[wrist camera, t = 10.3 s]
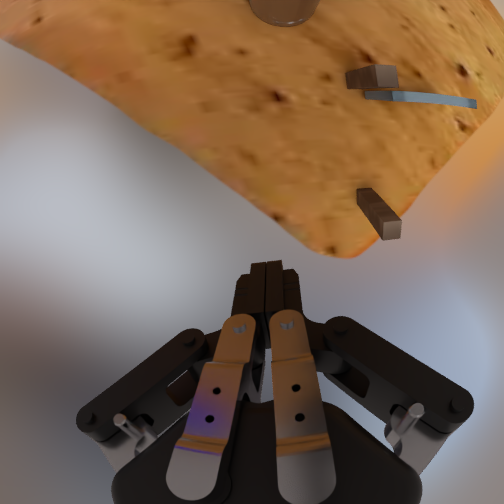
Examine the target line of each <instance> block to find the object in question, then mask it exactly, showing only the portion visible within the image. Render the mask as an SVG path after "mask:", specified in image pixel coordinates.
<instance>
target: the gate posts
mask: <svg viewBox="0 0 504 504" xmlns="http://www.w3.org/2000/svg"><path fill="white" fill-rule="evenodd" d="M345 75H346V81H347V87H348V89H369V88H399V84H398V77H397V70H396V66H392V65H376V64H375V65H371V66H367V67H364V68H360V69H357V70H353V71H350V72H347V73H345ZM357 204H358V206H359V207H360V208H361V210H362V211H363V213H364V214H365V215H366V217H367V218H368V220H369V221H370V223H371V224H372V225H373V227H374V228H375V230H376V231H377V233H378V234H379V236H380V237H381V239H382V240H390V239H399V238H400V235H401V223H402V222H401V221H402V220H401V219H400V218H399V217H398V216H397V215H396V213H395V212H394V211H393V210H392V209H391V208H390V207H389V206H388V205H387V204H386V203H385V202H384V201H383V199H382V198H381V197H380V196H379V195H378V194H377V193H376V192H375V191H374V190H373V189H372V188H364V189H357Z"/></svg>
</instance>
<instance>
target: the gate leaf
mask: <svg viewBox="0 0 504 504" xmlns="http://www.w3.org/2000/svg"><path fill="white" fill-rule="evenodd" d="M365 98H366V99H372V100H386V101H406V102H423V103H436V104H446V105H454V106H462V107H469V108H475V109H477V104H476V100H474V99H468V98H462V97H456V96H449V95H441V94H432V93H421V92H407V91H365Z"/></svg>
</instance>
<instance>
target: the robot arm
mask: <svg viewBox="0 0 504 504" xmlns="http://www.w3.org/2000/svg"><path fill="white" fill-rule="evenodd" d="M249 1H250V6H251V8H252V10H253V12H254V13H255V14H256V16H257V17H259V18H260V19H261V20H263V21H265V22H267V23H269V24H272V25H275V26H281V27H289V26H295V25H298V24H301V23H303V22H305V21H306V20H308V19H309V18H310V17H311V16H312V14H313V12H314V11H315V9H316V7H317V5H318V4H319V2H320V0H249ZM269 348H271V350H272V361H271V368H272V382H273V395H274V400H271V401H267V402H264V403H261V391H262V385H263V378H264V370H265V349H269ZM186 370H188V371H187V372H185V371H186ZM316 371H317V372H323V374H324V376H325V377H326V378H327V379H329V380H330V381H331V382H333V383H334V384H335V385H336V386H338V387H339V388H340V389H341V390H343V391H344V392H345V393H346V394H348V395H349V396H350V397H352V398H353V399H354V400H355V401H357V402H358V403H359V404H361V405H362V406H363V407H364V408H366V409H367V410H368V411H370V412H371V413H372V414H374V415H375V416H376V417H378V418H379V419H380V420H382V421H383V422H384V423H386V426H385V429H384V435H385V438H386V440H387V441H388V442H389V443H390V444H391V446H392V447H393V450H394V453H393V452H392V451H391V450H390V449H388V448H387V447H386V446H385V445H383V444H382V443H381V442H380V441H378V440H377V439H376V438H375V437H374V436H373V435H371V434H370V433H369V432H368V431H367V430H365V429H364V428H363V427H362V426H361V425H359V424H358V423H357V422H356V421H355V420H354V419H353V418H351V417H350V416H349V415H348V414H347V413H346V412H344V411H343V410H342V409H340V408H338V407H337V406H335V405H333V404H330V403H327V402H323V401H322V398H321V393H320V388H319V383H318V377H317V372H316ZM184 372H185V373H184ZM182 373H184V374H183V375H182V376H181V377H179V376H180V375H181V374H182ZM178 377H179V378H178ZM176 378H178V379H177V380H176V381H174V380H175V379H176ZM173 381H174V383H172V384H171V385H170V386H169V387H167V386H168V385H169V384H170V383H171V382H173ZM190 408H191V410H190V412H188V413H186V414H185V415H184V416H183V417H182V418H180V417H181V416H182V415H183V414H184V413H185V412H187V411H188V410H189V409H190ZM473 409H474V400H473V398H472V396H471V394H470V393H469V392H468V391H467V390H466V389H464V388H462V387H461V386H459V385H457V384H456V383H454V382H453V381H451V380H449V379H448V378H446V377H445V376H443V375H441V374H440V373H438V372H436V371H435V370H433V369H432V368H430V367H428V366H427V365H425V364H424V363H422V362H420V361H419V360H417V359H415V358H414V357H412V356H411V355H409V354H407V353H406V352H404V351H403V350H401V349H399V348H398V347H396V346H395V345H393V344H391V343H390V342H388V341H386V340H385V339H383V338H382V337H380V336H378V335H377V334H375V333H374V332H372V331H370V330H369V329H367V328H366V327H364V326H362V325H361V324H359V323H358V322H356V321H354V320H353V319H351V318H349V317H345V316H338V317H334V318H331V319H330V320H328V321H327V322H326V323H325V324H323V323H316V322H313V321H311V320H309V319H307V318H306V317H305V315H304V314H303V310H302V302H301V293H300V285H299V276H298V274H297V273H296V272H295V270H294V269H287V270H283V265H282V260H278V261H268V262H267V263H266V262H260V263H252V264H251V270H250V274H244V275H241V277H240V278H239V279H238V280H237V283H236V290H235V296H234V300H233V306H232V312H231V317H230V318H228V319H227V320H226V321H225V322H224V324H223V327H222V329H220V330H218V331H216V332H213V333H209V334H206V335H204V333H203V332H202V331H201V330H199V329H194V328H192V329H186V330H184V331H182V332H180V333H179V334H178V335H177V336H175V337H174V338H173V339H171V340H170V341H169V342H168V343H166V344H165V345H164V346H162V347H161V348H160V349H159V350H157V351H156V352H155V353H153V354H152V355H151V356H149V357H148V358H147V359H146V360H144V361H143V362H142V363H140V364H139V365H138V366H137V367H135V368H134V369H133V370H131V371H130V372H129V373H127V374H126V375H125V376H123V377H122V378H121V379H119V380H118V381H117V382H116V383H114V384H113V385H112V386H110V387H109V388H108V389H106V390H105V391H104V392H102V393H101V394H100V395H98V396H97V397H96V398H94V399H93V400H92V401H90V402H89V403H88V404H87V405H85V406H84V407H82V408H81V409H80V411H79V412H78V414H77V417H76V424H77V427H78V428H79V429H80V430H81V431H82V432H84V433H85V434H86V435H88V436H89V437H90V438H91V439H92V440H94V441H95V442H96V443H98V445H99V447H100V448H101V450H102V452H103V453H104V455H105V456H106V458H107V460H108V461H109V463H110V464H111V466H112V467H113V469H114V470H115V472H116V475H115V477H114V479H113V482H112V486H111V492H112V498H113V501H114V504H419V503H420V500H421V496H422V482H421V479H420V477H419V475H420V474H421V473H422V472H423V470H424V469H425V468H426V467H427V465H428V464H429V463H430V462H431V460H432V459H433V458H434V456H435V454H437V452H438V451H439V449H440V448H441V447H442V445H443V444H444V442H445V441H446V439H447V438H448V436H450V435H451V434H452V433H453V432H454V431H455V430H456V429H457V428H459V427H460V426H461V425H462V424H463V423H464V422H465V421H466V420H467V419H468V418H469V417H470V415H471V414H472V412H473ZM178 418H180V419H179V420H178V421H177V422H176V423H175V424H174V425H172V426H171V427H170V428H169V429H168V430H167V431H166V432H165V433H164V434H162V435H161V436H160V437H159V438H158V435H159V434H160V433H161V432H162V431H164V430H165V429H166V428H167V427H169V426H170V425H171V424H172V423H174V422H175V421H176V420H177V419H178Z"/></svg>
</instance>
